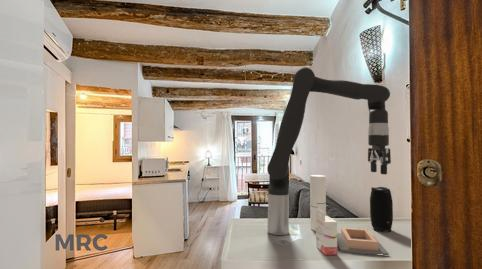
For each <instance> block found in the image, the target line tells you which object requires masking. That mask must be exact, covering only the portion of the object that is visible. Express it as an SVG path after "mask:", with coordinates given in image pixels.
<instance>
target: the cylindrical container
mask: <svg viewBox="0 0 482 269" xmlns="http://www.w3.org/2000/svg"><path fill="white" fill-rule="evenodd" d="M326 178H327V176H326V175H323V174H311V175H309V195H310V197H309V201H310V202H309V204H310V206H309V208H310V209H309V210H310V215H309V216H310V220H309V221H310V223H309V224H310V227H309V228H310V230H311V231H314V232H316V212H317V209H319V210H321V211H322V212H324V213H325V216H327V190H326V189H327V188H326V187H327V186H326V184H327V183H326V182H327V179H326ZM319 215H321V216H322V214H321V213H319Z"/></svg>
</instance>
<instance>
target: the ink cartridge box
mask: <svg viewBox="0 0 482 269" xmlns="http://www.w3.org/2000/svg"><path fill="white" fill-rule="evenodd" d="M319 213H321V214H322V216H321V215H319ZM337 233H338V222H337V221H336V220H335V219H333V218H332V217H330V216H329V215H326V216H325V213H324V212H322V211H321V210H319V209H317V212H316V231H315V235H316V236H315V247H316V248H317V249H318V250H320V252H321V253H322V254H323V255H324V256H337V255H338V244H337Z"/></svg>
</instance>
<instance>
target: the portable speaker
mask: <svg viewBox="0 0 482 269" xmlns="http://www.w3.org/2000/svg"><path fill="white" fill-rule="evenodd" d="M391 192H392V191H391V189H390V188H388V187H386V186H385V187H384V186H378V187H371V191H370V196H369V210H370V211H369V214H370V216H369V218H370V222H371V226H372V227H371V228H373V230H374V231H376V232H380V233H383V232H384V231H388V232H389V233H390V232H392V227H393V220H394V211H393V209H394V208H393V207H394V206H393V205H394V204H393V197H392V193H391Z"/></svg>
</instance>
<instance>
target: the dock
mask: <svg viewBox="0 0 482 269" xmlns="http://www.w3.org/2000/svg"><path fill="white" fill-rule="evenodd" d="M337 247H338V248H339V251H340V253H349V254H350V253H352V254H363V255H370V254H383V255H389V254H390V253H389V252H388V251H387V250H386V248H385V247H384V246H383V245H382V244H381V243H380V242H379V240H378V239H377V238H376V237H375V236H374V235H373V234H372V233H371V231H369V230H368V228H367V229H366V228H364V229H362V228H352V227H350V228H349V227H340V232H337ZM389 256H390V255H389Z"/></svg>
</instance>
